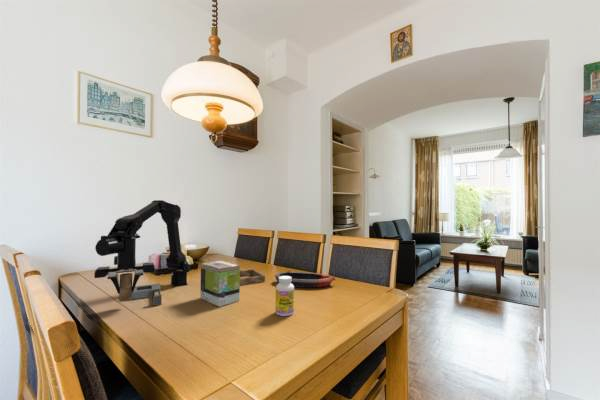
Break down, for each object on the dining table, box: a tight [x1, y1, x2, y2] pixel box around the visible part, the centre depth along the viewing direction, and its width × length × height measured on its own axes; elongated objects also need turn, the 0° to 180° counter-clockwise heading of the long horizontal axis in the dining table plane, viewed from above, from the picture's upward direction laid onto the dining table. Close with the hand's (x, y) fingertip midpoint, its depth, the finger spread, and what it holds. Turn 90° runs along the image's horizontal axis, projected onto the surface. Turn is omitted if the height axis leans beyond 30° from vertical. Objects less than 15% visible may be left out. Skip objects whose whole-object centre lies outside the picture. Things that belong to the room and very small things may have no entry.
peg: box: [118, 272, 133, 301], centre depth 101 cm, size 4×4×9 cm
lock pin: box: [152, 290, 163, 306], centre depth 109 cm, size 3×12×3 cm, turn 30°
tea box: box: [199, 260, 241, 307], centre depth 111 cm, size 15×10×15 cm, turn 47°
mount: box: [127, 283, 162, 301], centre depth 117 cm, size 12×9×3 cm
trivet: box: [240, 268, 266, 286], centre depth 141 cm, size 17×17×3 cm
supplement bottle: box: [275, 276, 295, 317], centre depth 97 cm, size 7×7×13 cm
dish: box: [274, 270, 336, 289], centre depth 134 cm, size 16×31×5 cm, turn 75°
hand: (125, 292), depth 101 cm, fingers closed on peg, 4 cm apart
